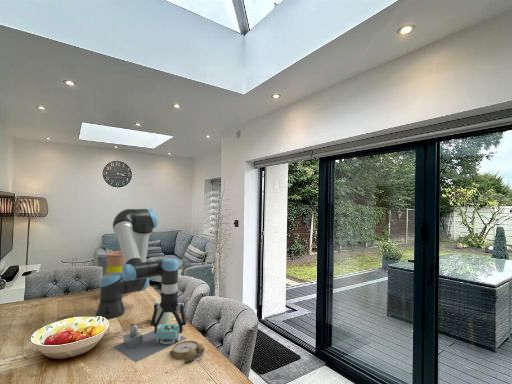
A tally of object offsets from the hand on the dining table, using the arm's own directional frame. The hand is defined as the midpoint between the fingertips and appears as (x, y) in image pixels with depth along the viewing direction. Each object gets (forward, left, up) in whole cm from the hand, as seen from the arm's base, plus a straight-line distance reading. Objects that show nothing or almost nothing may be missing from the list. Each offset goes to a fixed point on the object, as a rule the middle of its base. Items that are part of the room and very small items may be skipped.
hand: (168, 340), depth 130 cm
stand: (-10, -12, 0) cm, 16 cm away
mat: (-5, -6, -1) cm, 8 cm away
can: (-22, +12, -1) cm, 25 cm away
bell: (0, 0, 0) cm, 0 cm away
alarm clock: (+16, -1, -2) cm, 16 cm away
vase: (-89, +20, -1) cm, 91 cm away
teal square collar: (0, 0, +3) cm, 3 cm away
